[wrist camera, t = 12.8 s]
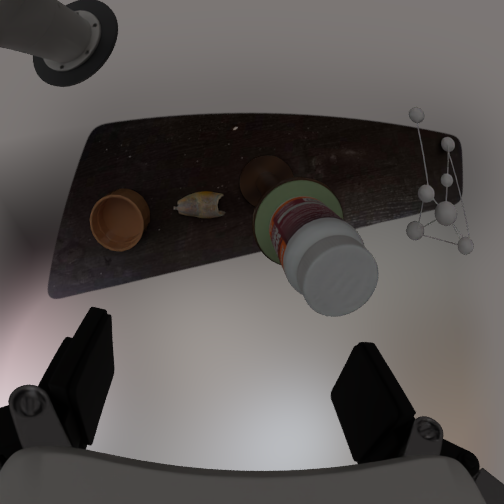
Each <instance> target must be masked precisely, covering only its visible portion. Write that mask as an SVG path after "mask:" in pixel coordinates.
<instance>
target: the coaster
mask: <svg viewBox="0 0 504 504" xmlns="http://www.w3.org/2000/svg"><path fill="white" fill-rule="evenodd" d="M298 196H309V197H313V198H315V199H318V200H319V201H321V202H322V203H324V204H325V205H326V206H327V207H329V208H330V209H331V210H332V211H333V212H335V213H336V214H337V215H338V216H340V217H341V218H342V219H343V213H342V209H341V206H340V204H339V202H338V200H337V199H336V197H335V196H334V195H333V193H332V192H330V191H329V190H328V189H327V188H325V187H324V186H322V185H320V184H318V183H315V182H312V181H307V180H296V181H291V182H287V183H284V184H282V185H280V186H278V187H276V188H275V189H274V190H272V191H271V192H270V193H269V194H268V195H267V196H266V197H265V198H264V200H263V201H262V203H261V204H260V206H259V209H258V211H257V214H256V219H255V234H256V237H257V241H258V243H259V245H260V247H261V249H262V250H263V252H264V253H265V254H266V255H267V256H268V257H269V258H270V259H272V260H273V261H275V262H276V263H278V264H281V263H280V261H279V259H278V256H277V254H276V251H275V249H274V247H273V244H272V242H271V239H270V235H269V225H270V220H271V217H272V215H273V213H274V211H275V210H276V209H277V208H278V207H279V206H280V205H281V204H282V203H283V202H285V201H286V200H288V199H290V198H293V197H298Z"/></svg>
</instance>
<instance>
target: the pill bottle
mask: <svg viewBox="0 0 504 504" xmlns="http://www.w3.org/2000/svg"><path fill="white" fill-rule="evenodd" d="M269 235H270V239H271V242H272V244H273V247H274V249H275V251H276V254H277V256H278V259H279V261H280V263H281V265H282V267H283V270H284V272H285V274H286V277H287V279H288V281H289V283H290V284H291V285H292V286H293V288H294V289H295V290H296V291H298V292H299V293H300V294H302V295H303V296H304V298H305V300H306V302H307V303H308V305H309V306H310V307H311V308H312V309H313V310H314V311H316V312H317V313H320V314H322V315H325V316H342V315H346V314H349V313H351V312H354V311H355V310H357V309H358V308H360V307H361V306H362V305H364V304H365V303H366V302H367V301H368V299H369V298H370V297H371V295H372V294H373V292H374V290H375V288H376V285H377V281H378V267H377V263H376V261H375V259H374V257H373V256H372V254H371V253H370V252H369V251H368V250H367V249H366V248H365V246H364V243H363V240H362V238H361V237H360V235H359V234H358V232H357V231H356V230H355V229H354V228H353V227H352V226H351V225H350V224H349V223H347V222H346V221H344V220H343V219H342V218H341V217H340V216H338V215H337V214H336V213H335V212H333V211H332V210H331V209H330V208H329V207H327V206H326V205H325V204H324V203H322V202H321V201H319V200H318V199H315V198H313V197H309V196H298V197H293V198H290V199H288V200H286V201H285V202H283V203H282V204H281V205H280V206H279V207H278V208H277V209H276V210H275V211H274V213H273V215H272V217H271V220H270V225H269Z"/></svg>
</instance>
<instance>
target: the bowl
mask: <svg viewBox="0 0 504 504" xmlns="http://www.w3.org/2000/svg"><path fill="white" fill-rule="evenodd" d="M149 222H150V211H149V207H148V205H147V203H146V201H145V200H144V198H143V197H142V196H141V195H140V194H138V193H137V192H135V191H133V190H130V189H118V190H114V191H112V192H111V193H109V194H107V195H106V196H104V197H103V198H102V199H100V200H99V201H98V202H97V203H96V204H95V206H94V207H93V209H92V211H91V215H90V227H91V230H92V233H93V235H94V237H95V238H96V240H97V241H98V242H99V243H100V244H101V245H102V246H104V247H105V248H107V249H110V250H112V251H125V250H129V249H130V248H132V247H133V246H135V245H136V244H137V243H138V241H139V240H140V239H141V237H142V236H143V234H144V233H145V231H146V230H147V228H148V225H149Z"/></svg>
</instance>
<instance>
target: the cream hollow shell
mask: <svg viewBox="0 0 504 504" xmlns="http://www.w3.org/2000/svg"><path fill="white" fill-rule="evenodd" d="M221 196H224V195H223V194H220V193H215V192H210V191H203V192H197V193H193V194H190V195H187V196H186V197H184V198H182V199H180V200H179V201H178V204H179V205H178V207H175V206H173V207H174V210H178V211H179V214H183V215H186V216H194V217H199V218H214V217H219V216H223V215H224V214H225V212H224V211H219V210H218V205H217V204H218V200H219V199H220V198H221Z"/></svg>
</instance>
